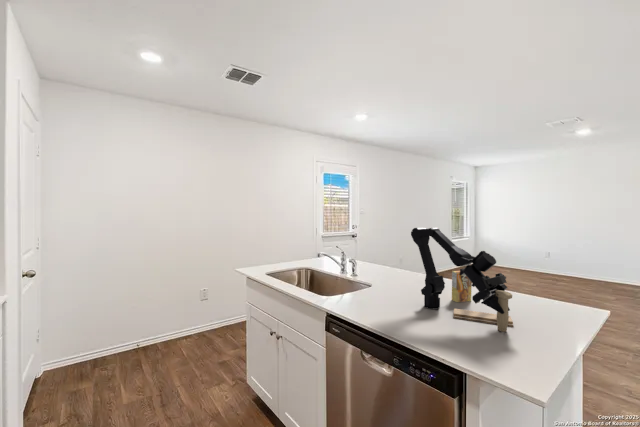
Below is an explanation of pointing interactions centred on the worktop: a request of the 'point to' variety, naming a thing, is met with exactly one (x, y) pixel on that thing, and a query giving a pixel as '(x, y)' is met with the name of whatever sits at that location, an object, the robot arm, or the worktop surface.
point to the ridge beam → (478, 316)
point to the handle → (503, 302)
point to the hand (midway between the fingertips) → (506, 312)
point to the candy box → (461, 287)
